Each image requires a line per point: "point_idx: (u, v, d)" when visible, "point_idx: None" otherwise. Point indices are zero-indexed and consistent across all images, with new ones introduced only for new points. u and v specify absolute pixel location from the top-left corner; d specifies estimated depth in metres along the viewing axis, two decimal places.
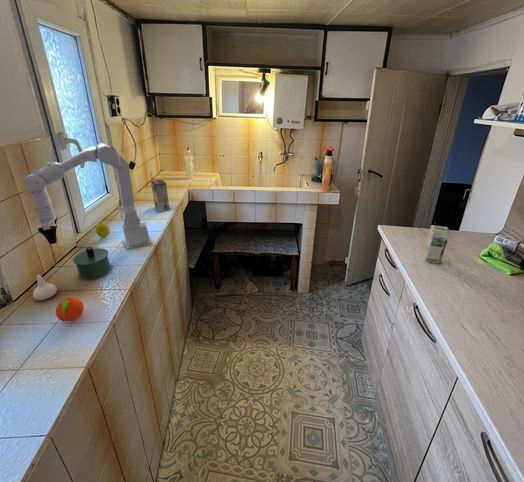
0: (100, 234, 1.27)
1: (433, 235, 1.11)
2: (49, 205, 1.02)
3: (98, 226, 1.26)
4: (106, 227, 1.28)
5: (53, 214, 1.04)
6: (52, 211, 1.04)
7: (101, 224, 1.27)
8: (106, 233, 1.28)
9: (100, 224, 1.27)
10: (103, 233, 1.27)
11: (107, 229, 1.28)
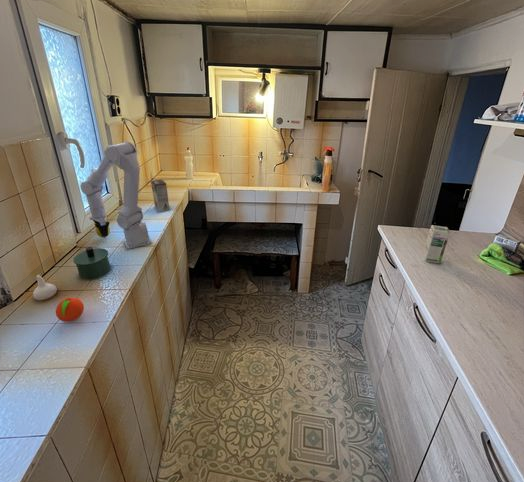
0: (100, 234, 1.27)
1: (433, 235, 1.11)
2: (97, 207, 1.22)
3: None
4: None
5: (105, 213, 1.26)
6: (104, 210, 1.25)
7: None
8: None
9: None
10: None
11: None
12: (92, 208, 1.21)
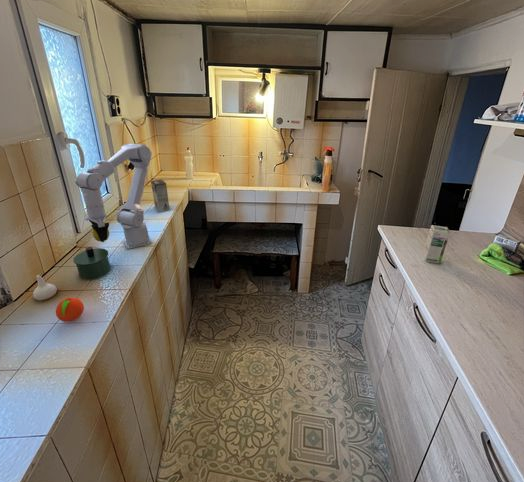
0: (98, 238, 1.06)
1: (433, 235, 1.11)
2: (102, 202, 1.05)
3: None
4: None
5: (104, 212, 1.06)
6: (104, 209, 1.05)
7: None
8: None
9: None
10: None
11: None
12: (101, 204, 1.03)
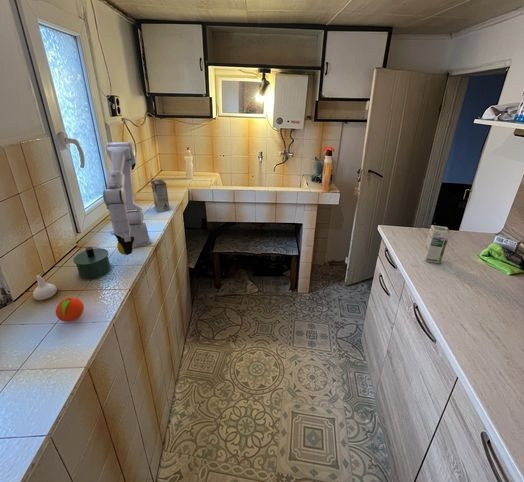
0: (123, 251, 1.08)
1: (433, 235, 1.11)
2: None
3: None
4: None
5: (129, 226, 1.07)
6: (128, 223, 1.07)
7: None
8: None
9: None
10: None
11: None
12: (127, 217, 1.06)
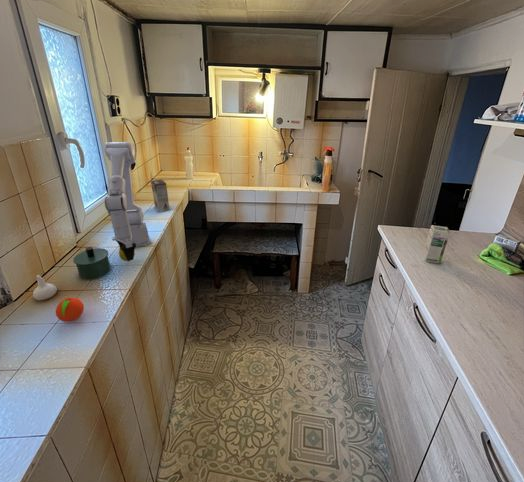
0: (124, 258, 1.09)
1: (433, 235, 1.11)
2: None
3: None
4: None
5: (130, 232, 1.08)
6: (130, 229, 1.08)
7: None
8: None
9: None
10: None
11: None
12: (129, 223, 1.07)
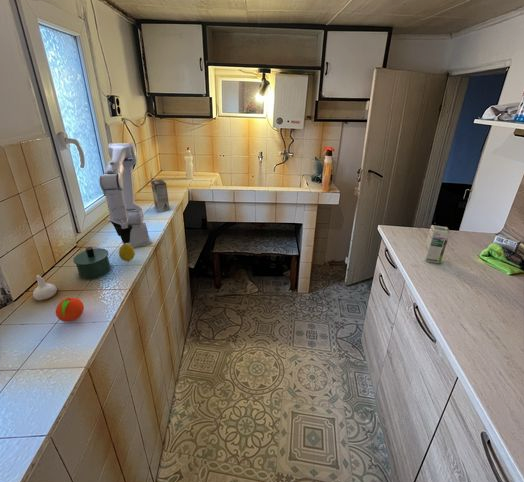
0: (124, 258, 1.09)
1: (433, 235, 1.11)
2: None
3: (122, 249, 1.08)
4: (131, 250, 1.10)
5: (126, 213, 1.05)
6: (126, 210, 1.04)
7: (125, 246, 1.09)
8: (131, 257, 1.10)
9: (124, 246, 1.09)
10: (128, 257, 1.09)
11: (132, 252, 1.10)
12: (125, 204, 1.04)
